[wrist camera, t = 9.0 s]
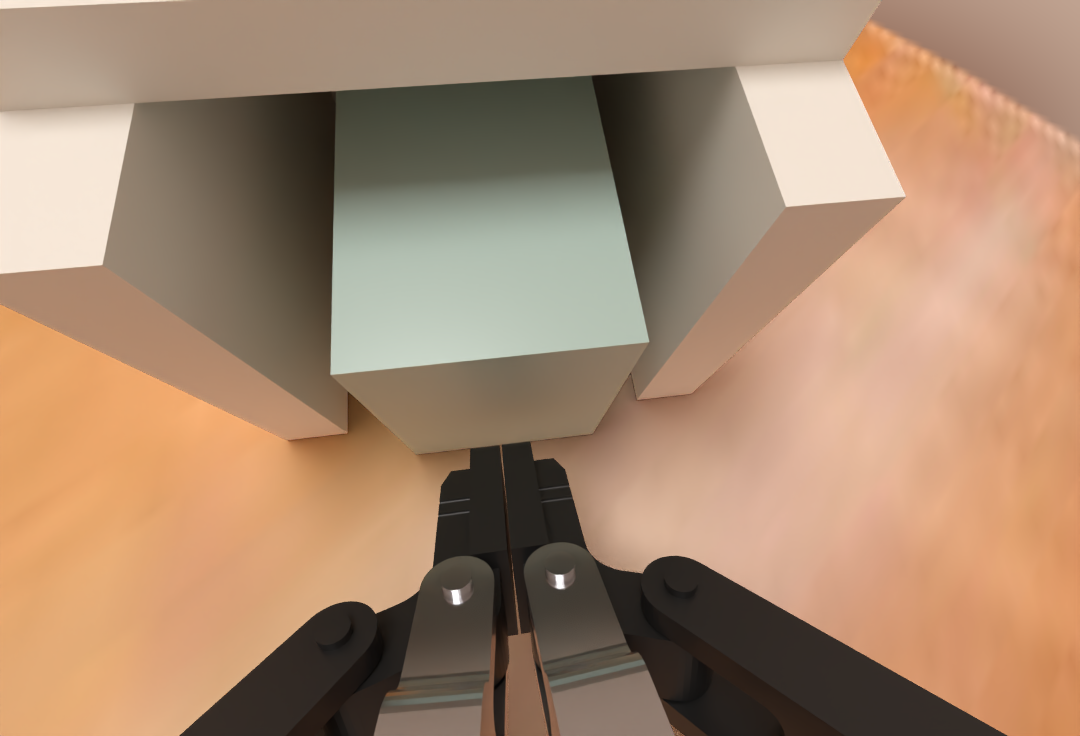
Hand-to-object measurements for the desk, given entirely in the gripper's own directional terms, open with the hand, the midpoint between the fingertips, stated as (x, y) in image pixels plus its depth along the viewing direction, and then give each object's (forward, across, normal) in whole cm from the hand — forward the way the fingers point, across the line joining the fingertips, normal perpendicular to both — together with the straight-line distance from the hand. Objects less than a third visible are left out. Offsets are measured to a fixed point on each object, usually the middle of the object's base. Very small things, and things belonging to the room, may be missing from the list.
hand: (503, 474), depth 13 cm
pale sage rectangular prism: (+8, 0, -3) cm, 9 cm away
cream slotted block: (+10, 0, -4) cm, 10 cm away
